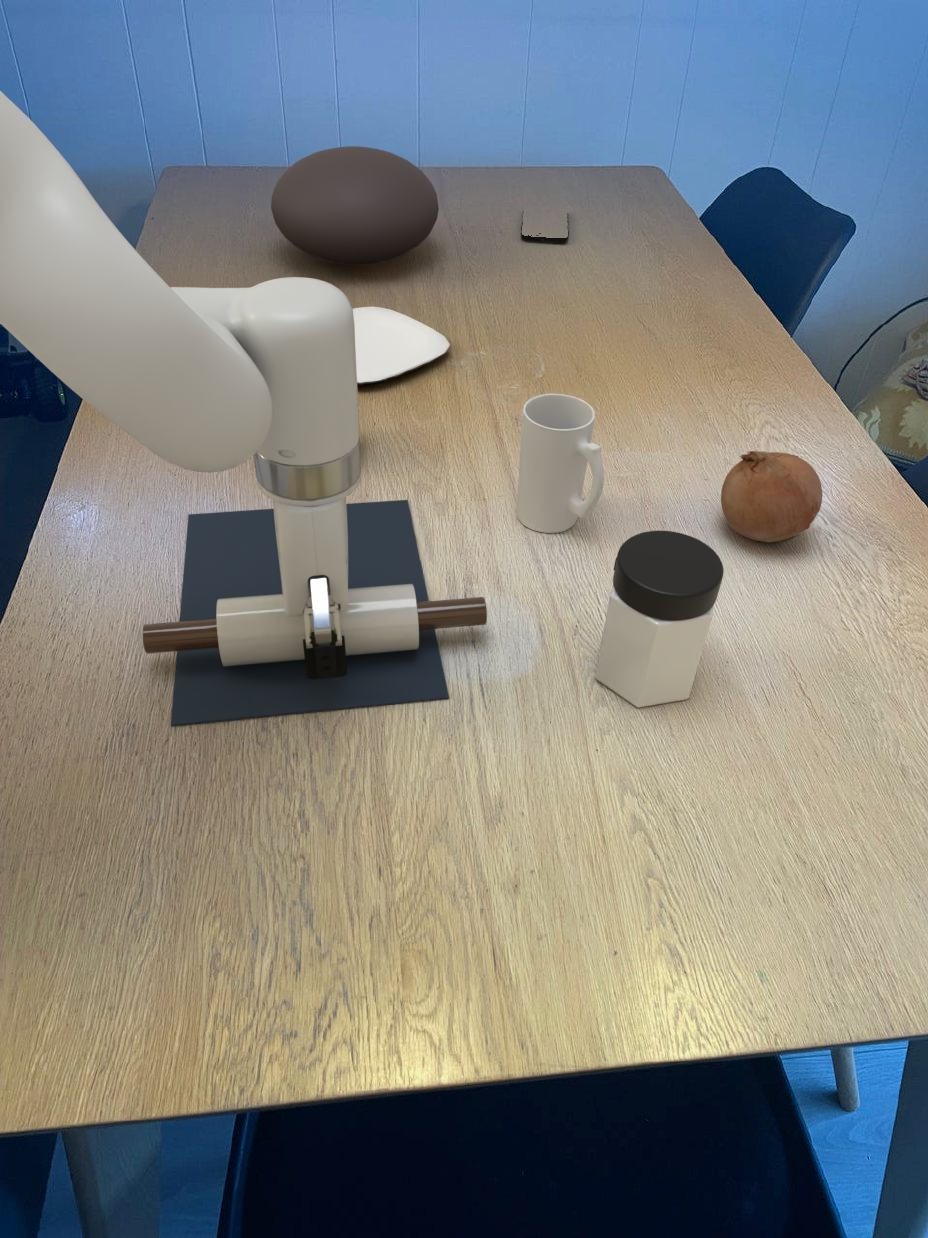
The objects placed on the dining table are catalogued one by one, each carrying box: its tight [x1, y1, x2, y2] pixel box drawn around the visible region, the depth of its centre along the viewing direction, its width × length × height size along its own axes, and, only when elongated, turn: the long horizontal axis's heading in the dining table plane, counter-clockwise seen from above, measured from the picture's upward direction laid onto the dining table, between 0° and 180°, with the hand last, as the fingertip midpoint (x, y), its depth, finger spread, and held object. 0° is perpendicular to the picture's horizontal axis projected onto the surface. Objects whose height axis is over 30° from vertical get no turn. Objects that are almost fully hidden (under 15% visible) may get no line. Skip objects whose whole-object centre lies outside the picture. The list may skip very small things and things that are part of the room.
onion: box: [720, 450, 823, 544], centre depth 92 cm, size 10×9×10 cm
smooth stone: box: [270, 145, 440, 266], centre depth 139 cm, size 25×25×15 cm
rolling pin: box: [142, 584, 488, 667], centre depth 78 cm, size 28×6×6 cm, turn 99°
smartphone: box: [520, 226, 570, 244], centre depth 156 cm, size 8×1×15 cm
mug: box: [516, 393, 605, 534], centre depth 90 cm, size 10×7×12 cm, turn 37°
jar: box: [594, 530, 725, 708], centre depth 75 cm, size 9×8×12 cm
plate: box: [352, 306, 451, 385], centre depth 120 cm, size 18×18×2 cm
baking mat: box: [170, 499, 450, 727], centre depth 85 cm, size 28×22×1 cm
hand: (323, 634), depth 78 cm, fingers open, 9 cm apart
